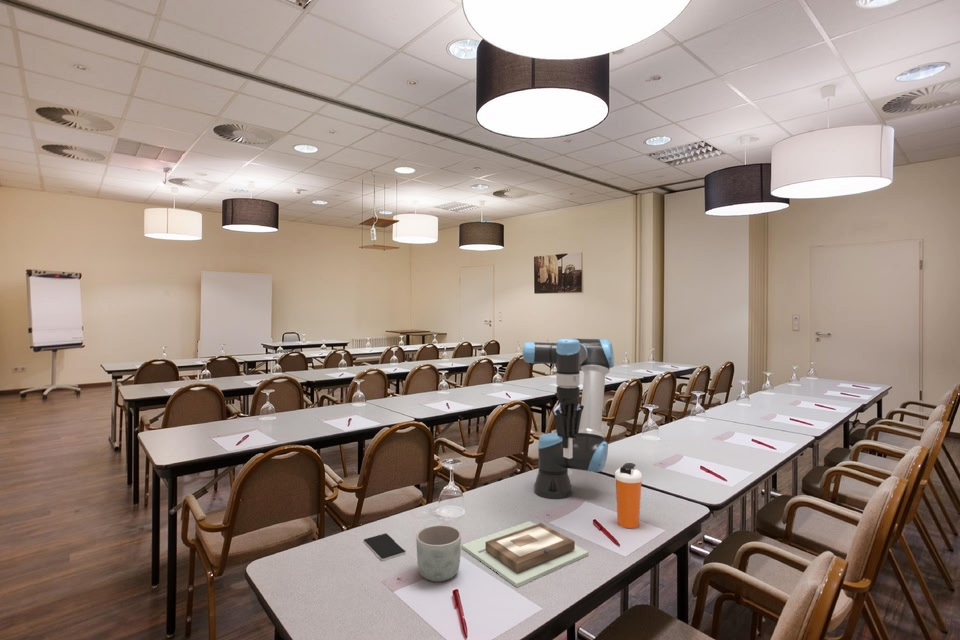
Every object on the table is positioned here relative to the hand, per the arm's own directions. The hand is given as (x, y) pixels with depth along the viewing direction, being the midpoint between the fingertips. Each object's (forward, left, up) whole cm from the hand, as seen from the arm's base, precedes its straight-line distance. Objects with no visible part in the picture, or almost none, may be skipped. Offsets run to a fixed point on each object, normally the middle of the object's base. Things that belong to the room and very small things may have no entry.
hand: (567, 457), depth 159 cm
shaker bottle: (+9, +20, -25) cm, 33 cm away
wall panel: (+2, -21, -24) cm, 32 cm away
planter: (-3, -48, -25) cm, 54 cm away
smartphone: (-26, -54, -25) cm, 65 cm away
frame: (+5, -21, -23) cm, 31 cm away
